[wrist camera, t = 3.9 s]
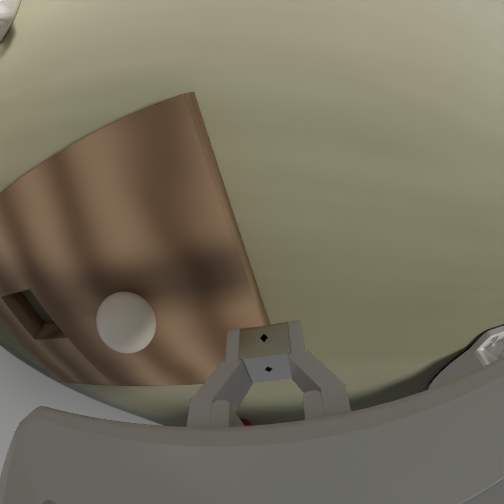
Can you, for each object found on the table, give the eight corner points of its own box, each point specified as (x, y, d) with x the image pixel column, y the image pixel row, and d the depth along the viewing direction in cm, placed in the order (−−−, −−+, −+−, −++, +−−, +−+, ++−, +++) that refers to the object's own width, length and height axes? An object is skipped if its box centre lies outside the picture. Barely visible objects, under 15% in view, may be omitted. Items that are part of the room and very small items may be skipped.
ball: (145, 273, 17) (124, 320, 14) (171, 317, 19) (159, 364, 16) (98, 284, 18) (75, 326, 14) (126, 323, 20) (110, 366, 16)
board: (194, 91, 13) (183, 93, 11) (279, 352, 25) (281, 374, 23) (-37, 226, 17) (-51, 239, 15) (64, 366, 29) (58, 381, 27)
